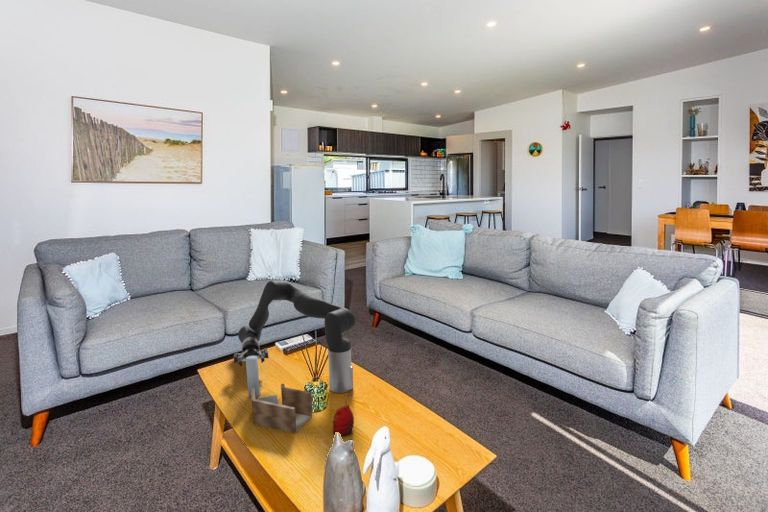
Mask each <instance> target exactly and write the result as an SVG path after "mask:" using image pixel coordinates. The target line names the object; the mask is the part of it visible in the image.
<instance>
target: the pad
mask: <svg viewBox="0 0 768 512" xmlns="http://www.w3.org/2000/svg"><path fill="white" fill-rule="evenodd" d="M258 400H262V401H266V402H271V403H276V404H279V401H278V400H279V398H278V394H274V395H269V396H262V397H258Z"/></svg>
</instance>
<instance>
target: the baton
mask: <svg viewBox="0 0 768 512" xmlns="http://www.w3.org/2000/svg"><path fill="white" fill-rule="evenodd" d="M258 360H259V359H257V356H248V357H246V361H245V367H246V380H247V381H246V382H247V394H248V398H250V399H252V395H251V389H253V388H255V399H257V398H260V396H261V390H260V387H261V386H260V377H259V376H260V375H259V373H260V372H259V362H258Z"/></svg>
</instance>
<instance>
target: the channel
mask: <svg viewBox="0 0 768 512" xmlns="http://www.w3.org/2000/svg"><path fill="white" fill-rule="evenodd" d="M285 386H286V385H285V383H281V384H280V394H281V404H280V403H278V404H276V403H271V402H266V401H262V400H259V399H257V398H255V388H253V389H251V395H252V398H251V406H252V408H251V409H252V419H253V425H257V426H259V427H260V426H261V427H266V428H269V429H273V430H277V431H281V432H285V433H288V434H289V433H291V434H293V435H294V434H296V433H297V432H298V431H299V430H300V429H302V427H303V426H304V425H305V424H306V423H307V422H308V421H309V420H310V419H311V418H312V417H313V401H312V392H311V391H306V390H301V389H297V388H296V389H295V388H290V387H285Z"/></svg>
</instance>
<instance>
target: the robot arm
mask: <svg viewBox="0 0 768 512" xmlns="http://www.w3.org/2000/svg"><path fill="white" fill-rule="evenodd" d="M261 293H262V294H261V296H260V299H259V302H258V304H257V308H256V309H255V310H254V313H253V314H252V316H251V318H250V319H249V322H248V326H247V325H245V326H242V327H240V328H239V331H238V334H237V337H238V340H239V341H240V343H241V352H240V353H239V352H238V351H234V354H233V363H234V364H235V363H237V364H238V365H239V366H240V367H241V366H243V362H246V357H248V356H257V359H258V360H260V363H264V362H265V359H269V351H268V348H267V347H264V348H263V349H262V350H261V349H260V343H259V342H260V339H261V335H262V331H263V329H264V326H265V325H266V323H267V322H268V319H269V317H270V312H269V311H270V310H269V306H270V304H271V303H272V302H273V301H288V302H291V303H292V304H293V307H294V310H296V311H297V312H299V313H300V314H302V315H304V316H306V317H310V318H315V319H322V320H323V319H324V331H325V333H324V334H325V342H326V344H327V349H328V350H327V353H328V355H327V356H328V358H327V359H328V380H329V381H328V385H329V386H328V387H329V390H330V392H333V393H335V394H342V393H344V394H345V393H347V392H349V391H351V390H354V368H353V366H352V343H351V341H350V340H349V339H348V338H344V337H343V334H342V333H345V332H347V331H349V330H351V329H353V327H354V326H355V324H356V317H355V315H354V313H353V312H352V311H351V310H350V309H348V308H345V307H343V306H340V305H336V304H333V303H331V302H330V301H326V300H325V299H322V298H320V297H319V296H316V295H314V294H312V293H310V292H307V291H305V290H302V289H301V288H298V287H297V286H295V285H293V284H292V283H291V282H289V281H287V280H282V279H281V280H279V279H278V280H277V279H275V280H274V279H273V280H270V281H268V282H266V284H265V286H264V288H263V290H262V292H261Z"/></svg>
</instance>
